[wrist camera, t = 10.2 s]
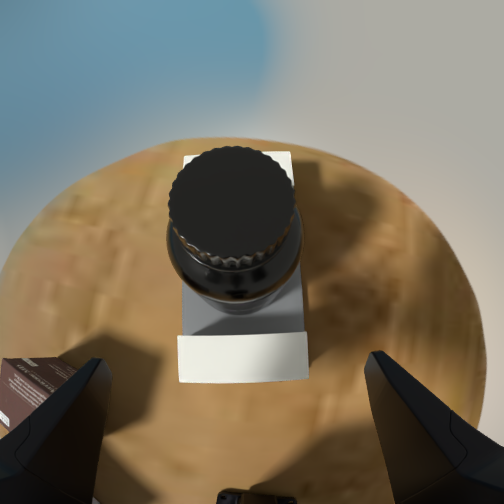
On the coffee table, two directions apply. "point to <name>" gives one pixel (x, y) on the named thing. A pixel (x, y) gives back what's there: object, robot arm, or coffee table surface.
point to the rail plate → (245, 333)
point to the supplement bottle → (234, 228)
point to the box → (28, 386)
